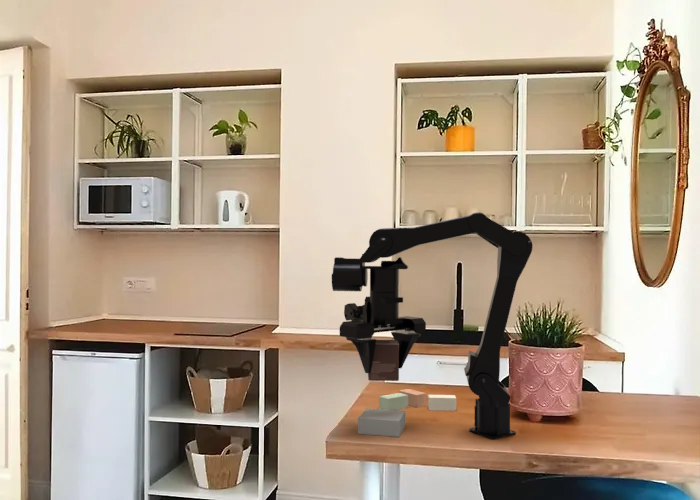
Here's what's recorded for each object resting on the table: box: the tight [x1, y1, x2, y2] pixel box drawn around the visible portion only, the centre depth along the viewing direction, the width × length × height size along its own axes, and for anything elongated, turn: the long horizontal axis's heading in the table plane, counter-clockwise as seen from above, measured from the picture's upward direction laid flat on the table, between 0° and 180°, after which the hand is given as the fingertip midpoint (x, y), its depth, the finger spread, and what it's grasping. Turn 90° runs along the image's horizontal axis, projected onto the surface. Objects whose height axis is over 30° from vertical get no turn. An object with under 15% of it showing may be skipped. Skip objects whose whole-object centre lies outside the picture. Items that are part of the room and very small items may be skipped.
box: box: [367, 339, 400, 382], centre depth 125 cm, size 6×6×7 cm
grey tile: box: [357, 407, 406, 438], centre depth 124 cm, size 8×8×3 cm
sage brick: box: [378, 392, 409, 410], centre depth 142 cm, size 6×3×3 cm, turn 127°
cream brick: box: [427, 394, 457, 412], centre depth 141 cm, size 6×3×3 cm, turn 87°
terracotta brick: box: [398, 388, 427, 409], centre depth 146 cm, size 6×3×3 cm, turn 38°
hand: (383, 370), depth 125 cm, fingers closed on box, 8 cm apart
